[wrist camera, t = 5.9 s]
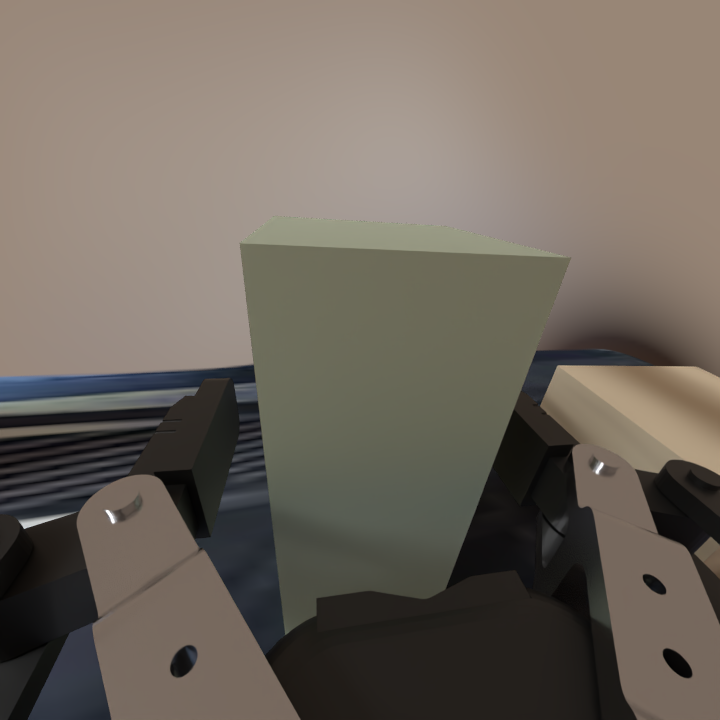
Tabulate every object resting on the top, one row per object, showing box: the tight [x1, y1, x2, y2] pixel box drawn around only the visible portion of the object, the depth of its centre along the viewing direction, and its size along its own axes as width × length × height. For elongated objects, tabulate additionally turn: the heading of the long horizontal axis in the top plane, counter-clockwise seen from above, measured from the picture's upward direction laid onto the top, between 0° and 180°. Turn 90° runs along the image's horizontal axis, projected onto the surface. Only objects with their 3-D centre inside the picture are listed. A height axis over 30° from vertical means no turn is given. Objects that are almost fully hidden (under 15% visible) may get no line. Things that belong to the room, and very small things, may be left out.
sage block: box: [240, 216, 571, 635], centre depth 9 cm, size 5×5×12 cm
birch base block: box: [540, 366, 720, 579], centre depth 14 cm, size 8×8×6 cm
